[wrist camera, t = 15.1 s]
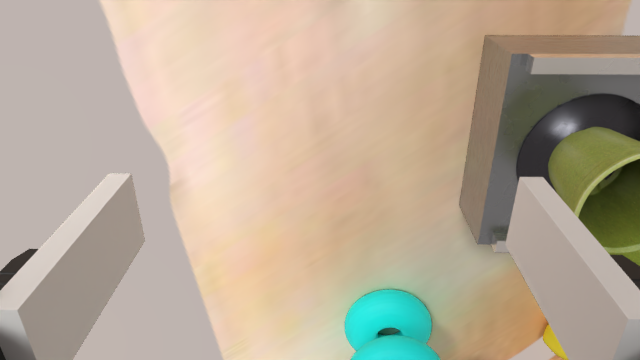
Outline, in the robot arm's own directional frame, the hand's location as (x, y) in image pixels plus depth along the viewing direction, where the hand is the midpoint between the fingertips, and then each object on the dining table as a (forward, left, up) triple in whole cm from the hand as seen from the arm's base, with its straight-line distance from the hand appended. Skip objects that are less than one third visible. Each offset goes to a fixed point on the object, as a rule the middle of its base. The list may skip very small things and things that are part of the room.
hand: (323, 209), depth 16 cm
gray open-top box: (+10, +21, -29) cm, 37 cm away
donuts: (+32, +7, -29) cm, 44 cm away
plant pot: (+8, +21, -22) cm, 31 cm away
